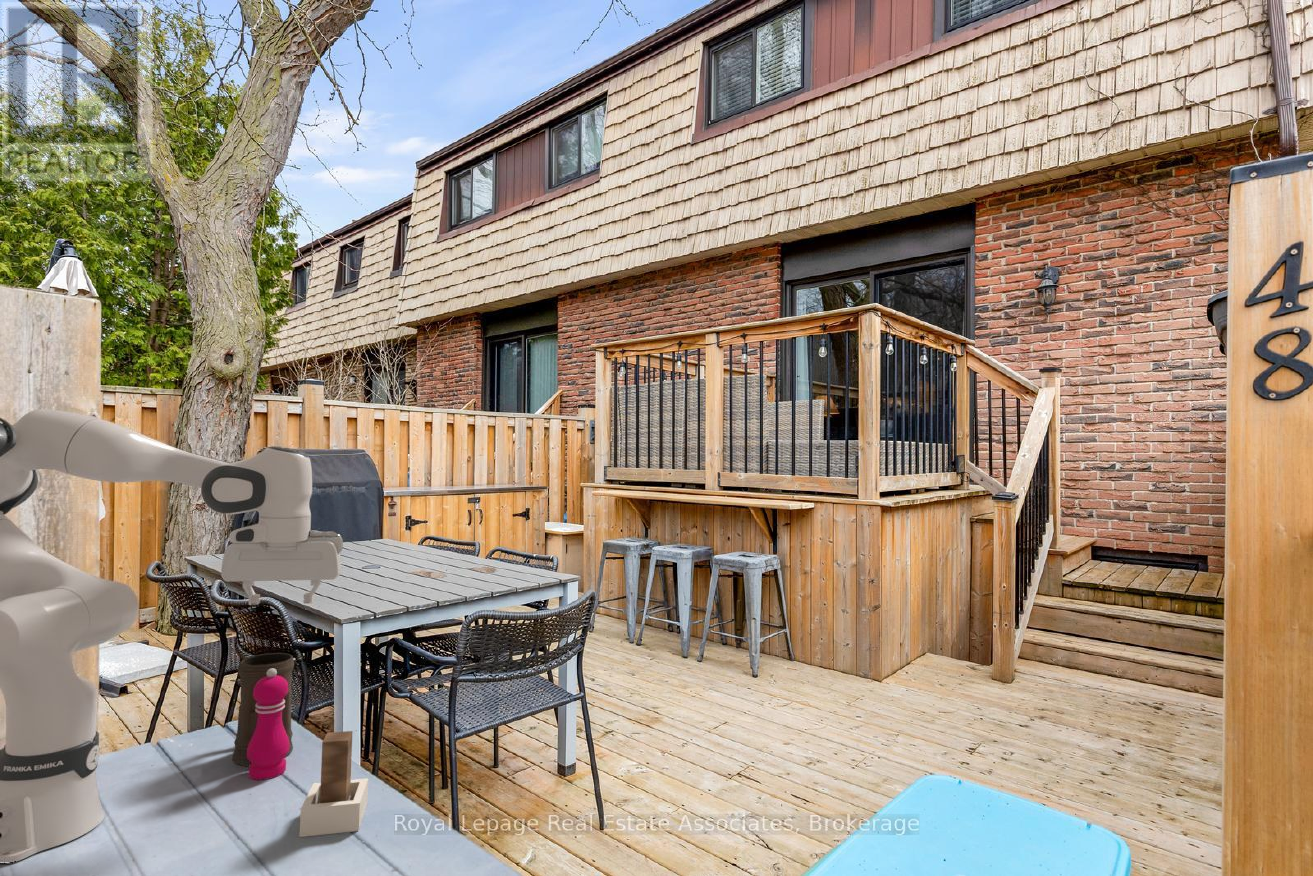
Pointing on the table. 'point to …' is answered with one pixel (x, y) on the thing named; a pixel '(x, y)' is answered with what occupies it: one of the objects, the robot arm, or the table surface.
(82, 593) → the robot arm
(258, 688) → the pepper mill
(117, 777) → the table surface
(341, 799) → the rail
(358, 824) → the socket block
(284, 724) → the beer stein
